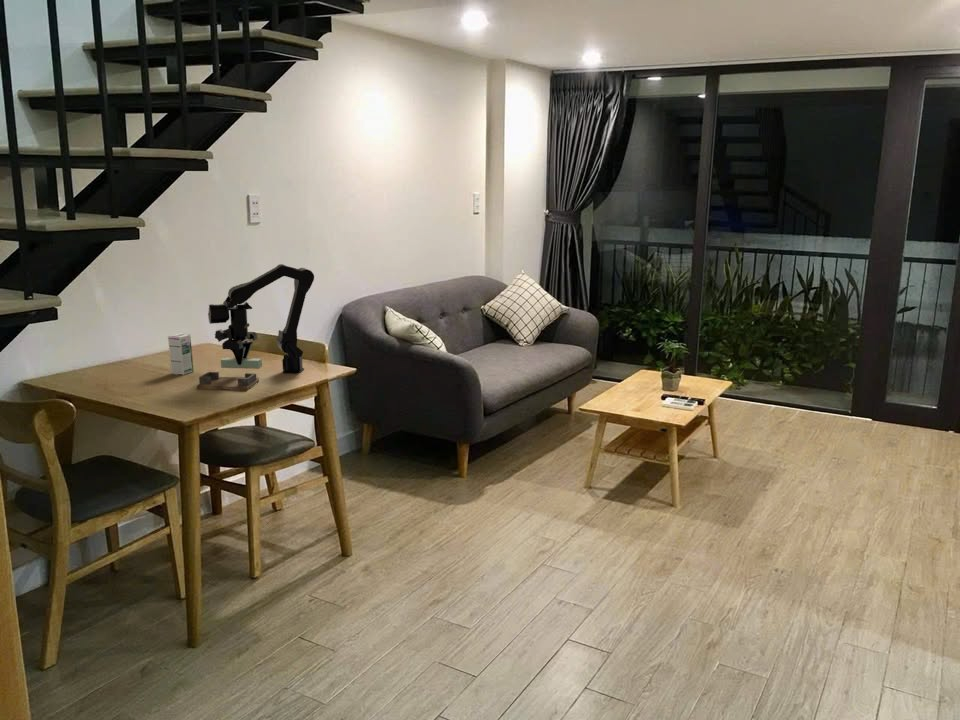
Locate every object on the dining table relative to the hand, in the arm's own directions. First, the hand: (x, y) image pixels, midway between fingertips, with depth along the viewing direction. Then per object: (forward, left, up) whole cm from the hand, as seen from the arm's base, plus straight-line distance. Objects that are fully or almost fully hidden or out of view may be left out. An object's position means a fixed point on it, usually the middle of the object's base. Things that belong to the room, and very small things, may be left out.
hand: (241, 363), depth 295 cm
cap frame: (0, +13, -5) cm, 14 cm away
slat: (0, 0, -1) cm, 1 cm away
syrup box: (+24, -2, -5) cm, 25 cm away
